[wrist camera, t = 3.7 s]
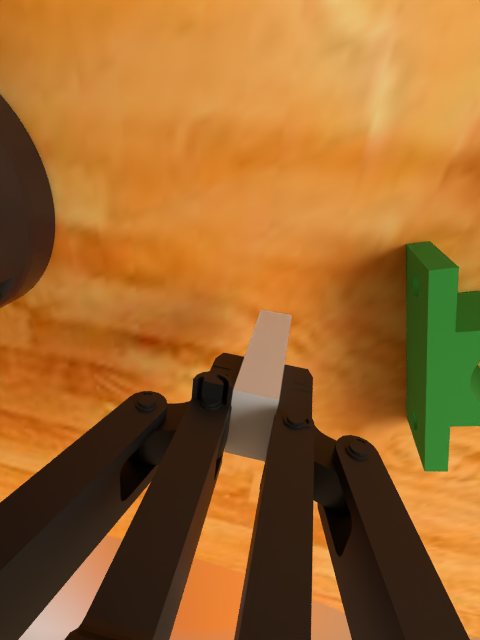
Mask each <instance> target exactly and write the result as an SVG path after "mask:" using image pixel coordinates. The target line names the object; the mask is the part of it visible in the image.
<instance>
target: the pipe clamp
mask: <svg viewBox="0 0 480 640" xmlns="http://www.w3.org/2000/svg"><path fill="white" fill-rule="evenodd" d="M458 272H459V267H458V266H457V265H456V264H455V263H453V262H452V261H451V260H450V259H449V258H448V257H447V256H446V255H445V254H443V253H442V252H441V251H440V250H439V249H438V248H437V247H436V246H435V245H433V244H432V243H431V242H430V241H429V242H421V243H413V244H406V301H407V419H408V422H409V425H410V428H411V432H412V435H413V438H414V441H415V444H416V447H417V450H418V453H419V456H420V459H421V462H422V465H423V468H424V471H448V456H449V438H450V427H452V426H480V367H479V366H478V365H477V364H478V363H479V362H480V291H474V292H463V293H457V291H458Z"/></svg>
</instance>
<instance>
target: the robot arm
mask: <svg viewBox="0 0 480 640" xmlns="http://www.w3.org/2000/svg"><path fill="white" fill-rule="evenodd" d="M54 236H55V212H54V204H53V198H52V193H51V188H50V185H49V181H48V177H47V174H46V171H45V168H44V166H43V163H42V161H41V158H40V156H39V154H38V151H37V149H36V147H35V145H34V143H33V141H32V139H31V137H30V136H29V134H28V132H27V131H26V129H25V127H24V125H23V124H22V122H21V121H20V119H19V118H18V117H17V115H16V114H15V112H14V111H13V110H12V108H11V107H10V106H9V104H8V103H7V102H6V101H5V100H4V98H3V97H2V96H1V95H0V308H1V307H3V306H5V305H7V304H9V303H10V302H12V301H14V300H16V299H18V298H20V297H21V296H23V295H24V294H26V293H27V292H28V291H29V290H30V289H32V288H33V287H34V285H35V284H36V283H37V282H38V281H39V279H40V278H41V276H42V275H43V273H44V271H45V269H46V267H47V265H48V263H49V260H50V257H51V253H52V249H53V244H54ZM291 319H292V315H289V314H284V313H278V312H273V311H268V310H263V309H261V310H260V313H259V316H258V319H257V322H256V325H255V328H254V331H253V334H252V337H251V340H250V342H249V345H248V348H247V351H246V354H245V357H242V356H237V355H232V354H228V353H223V354H221V355H220V356H218V357H217V358H216V359H215V361H214V363H213V366H212V368H211V370H210V371H208V372H202V373H200V374H198V375H196V376H195V378H194V379H193V389H192V399H191V401H189V402H185V403H177V404H167V401H166V399H165V397H164V396H162V395H161V394H159V393H156V392H152V391H143V392H139V393H136V394H134V395H132V396H130V397H129V398H128V399H127V400H125V401H124V402H123V403H122V404H120V405H119V406H118V407H117V408H116V409H114V410H113V411H112V412H111V413H109V414H108V415H107V416H106V417H105V418H103V419H102V420H101V421H100V422H98V423H97V424H96V425H95V426H94V427H92V428H91V429H90V430H89V431H87V432H86V433H85V434H84V435H83V436H81V437H80V438H79V439H78V440H76V441H75V442H74V443H73V444H72V445H70V446H69V447H68V448H67V449H65V450H64V451H63V452H62V453H61V454H59V455H58V456H57V457H56V458H54V459H53V460H52V461H51V462H50V463H48V464H47V465H46V466H45V467H43V468H42V469H41V470H40V471H39V472H37V473H36V474H35V475H34V476H32V477H31V478H30V479H29V480H28V481H26V482H25V483H24V484H23V485H21V486H20V487H19V488H18V489H17V490H15V491H14V492H13V493H12V494H10V495H9V496H8V497H7V498H6V499H4V500H3V501H2V502H1V503H0V640H18V639H19V638H20V637H21V636H22V635H23V633H24V632H25V631H26V630H27V629H28V627H29V626H30V625H31V624H32V622H33V621H34V620H35V619H36V618H37V617H38V615H39V614H40V613H41V612H42V611H43V610H44V608H45V607H46V606H47V605H48V603H49V602H50V601H51V600H52V599H53V598H54V596H55V595H56V594H57V593H58V592H59V590H60V589H61V588H62V587H63V586H64V584H65V583H66V582H67V581H68V580H69V579H70V577H71V576H72V575H73V574H74V572H75V571H76V570H77V569H78V568H79V567H80V565H81V564H82V563H83V562H84V561H85V559H86V558H87V557H88V556H89V555H90V554H91V552H92V551H93V550H94V549H95V548H96V546H97V545H98V544H99V543H100V542H101V540H102V539H103V538H104V537H105V536H106V534H107V533H108V532H109V531H110V530H111V529H112V527H113V526H114V525H115V524H116V523H117V521H118V520H119V519H120V518H121V517H122V515H123V514H124V513H125V512H126V511H127V509H128V508H129V507H130V506H131V505H132V504H133V502H134V501H135V500H136V499H137V498H138V496H139V495H140V494H141V493H142V492H143V490H144V489H145V488H146V487H147V486H148V484H149V483H150V482H151V483H150V485H149V487H148V489H147V491H146V493H145V495H144V497H143V499H142V502H141V504H140V506H139V508H138V510H137V512H136V514H135V516H134V518H133V520H132V522H131V524H130V526H129V528H128V530H127V532H126V534H125V536H124V538H123V541H122V543H121V545H120V547H119V549H118V551H117V553H116V555H115V557H114V559H113V561H112V563H111V565H110V567H109V569H108V571H107V573H106V575H105V578H104V579H103V581H102V584H101V586H100V588H99V590H98V592H97V594H96V596H95V598H94V600H93V602H92V604H91V606H90V608H89V610H88V612H87V614H86V616H85V618H84V620H83V622H82V624H81V625H80V626H79V627H78V628H77V629H75V630H74V631H72V632H70V633H69V635H68V636H67V637H66V638H65V640H169V639H170V635H171V632H172V629H173V625H174V621H175V619H176V615H177V612H178V609H179V605H180V601H181V598H182V595H183V592H184V588H185V585H186V582H187V578H188V575H189V571H190V568H191V564H192V561H193V558H194V555H195V551H196V548H197V545H198V541H199V538H200V534H201V531H202V528H203V524H204V521H205V518H206V514H207V511H208V508H209V504H210V501H211V497H212V494H213V491H214V487H215V484H216V481H217V477H218V474H219V471H220V467H221V464H222V457H223V452H227V453H232V454H236V455H240V456H244V457H248V458H253V459H257V460H261V461H265V465H264V470H263V475H262V479H261V484H260V493H259V498H258V504H257V510H256V516H255V522H254V528H253V533H252V539H251V545H250V551H249V557H248V562H247V568H246V574H245V580H244V586H243V592H242V597H241V604H240V609H239V615H238V621H237V627H236V632H235V639H234V640H311V601H312V546H313V500H314V501H316V502H318V511H319V514H320V518H321V522H322V526H323V530H324V534H325V538H326V541H327V545H328V549H329V553H330V557H331V561H332V565H333V568H334V572H335V576H336V580H337V584H338V588H339V592H340V595H341V599H342V603H343V607H344V611H345V615H346V619H347V622H348V626H349V630H350V634H351V637H352V640H470V639H469V637H468V635H467V633H466V631H465V629H464V627H463V625H462V623H461V621H460V619H459V617H458V615H457V613H456V611H455V608H454V606H453V604H452V602H451V600H450V598H449V596H448V594H447V592H446V590H445V588H444V586H443V584H442V582H441V580H440V578H439V576H438V574H437V572H436V570H435V568H434V566H433V564H432V561H431V559H430V557H429V555H428V553H427V551H426V549H425V547H424V545H423V543H422V541H421V539H420V537H419V535H418V533H417V531H416V529H415V527H414V525H413V523H412V521H411V519H410V516H409V514H408V512H407V510H406V508H405V506H404V504H403V502H402V500H401V498H400V496H399V494H398V492H397V490H396V488H395V486H394V484H393V482H392V480H391V478H390V476H389V474H388V471H387V469H386V467H385V465H384V463H383V461H382V459H381V457H380V455H379V453H378V451H377V450H376V449H375V447H374V446H373V445H372V444H371V443H369V442H368V441H367V440H365V439H362V438H360V437H357V436H352V435H347V436H342V437H341V438H339V439H338V440H337V441H336V440H334V439H332V438H330V437H328V436H326V435H324V434H323V433H321V432H320V431H319V430H318V429H317V428H316V427H315V425H314V421H313V420H312V390H313V387H312V386H313V377H312V375H311V374H310V372H309V370H308V369H304V368H299V367H294V366H289V365H285V358H286V352H287V345H288V339H289V332H290V326H291ZM224 448H225V451H224Z"/></svg>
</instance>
